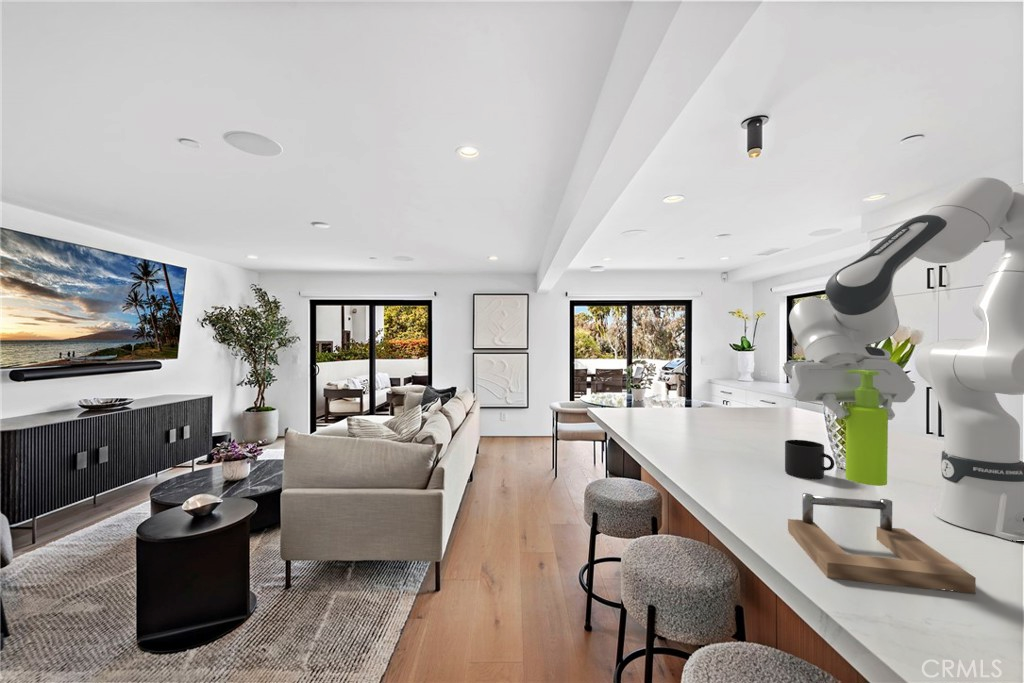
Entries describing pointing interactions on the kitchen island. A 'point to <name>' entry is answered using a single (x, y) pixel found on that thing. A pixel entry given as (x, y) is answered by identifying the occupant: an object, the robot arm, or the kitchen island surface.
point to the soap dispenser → (867, 434)
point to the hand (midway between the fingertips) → (866, 417)
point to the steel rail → (882, 505)
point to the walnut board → (884, 560)
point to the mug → (805, 459)
